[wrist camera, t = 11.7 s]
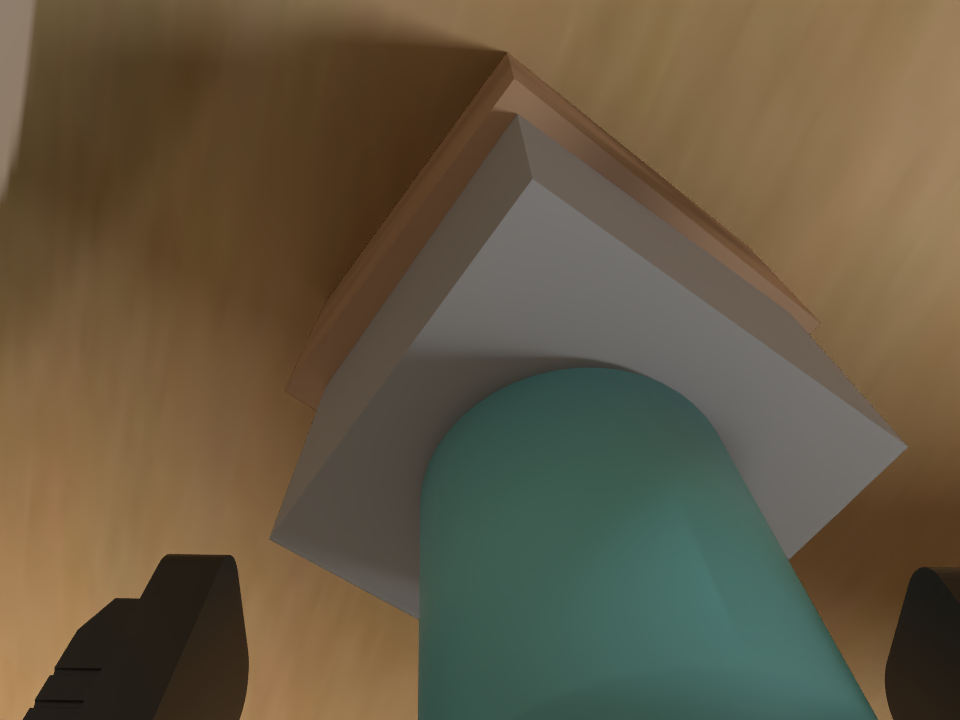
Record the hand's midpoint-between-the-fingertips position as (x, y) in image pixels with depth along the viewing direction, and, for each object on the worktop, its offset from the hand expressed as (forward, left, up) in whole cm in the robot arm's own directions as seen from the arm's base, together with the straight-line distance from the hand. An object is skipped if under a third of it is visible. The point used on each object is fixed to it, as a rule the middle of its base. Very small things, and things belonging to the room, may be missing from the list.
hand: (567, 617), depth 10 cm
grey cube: (0, 0, -7) cm, 7 cm away
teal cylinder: (0, 0, -2) cm, 2 cm away
